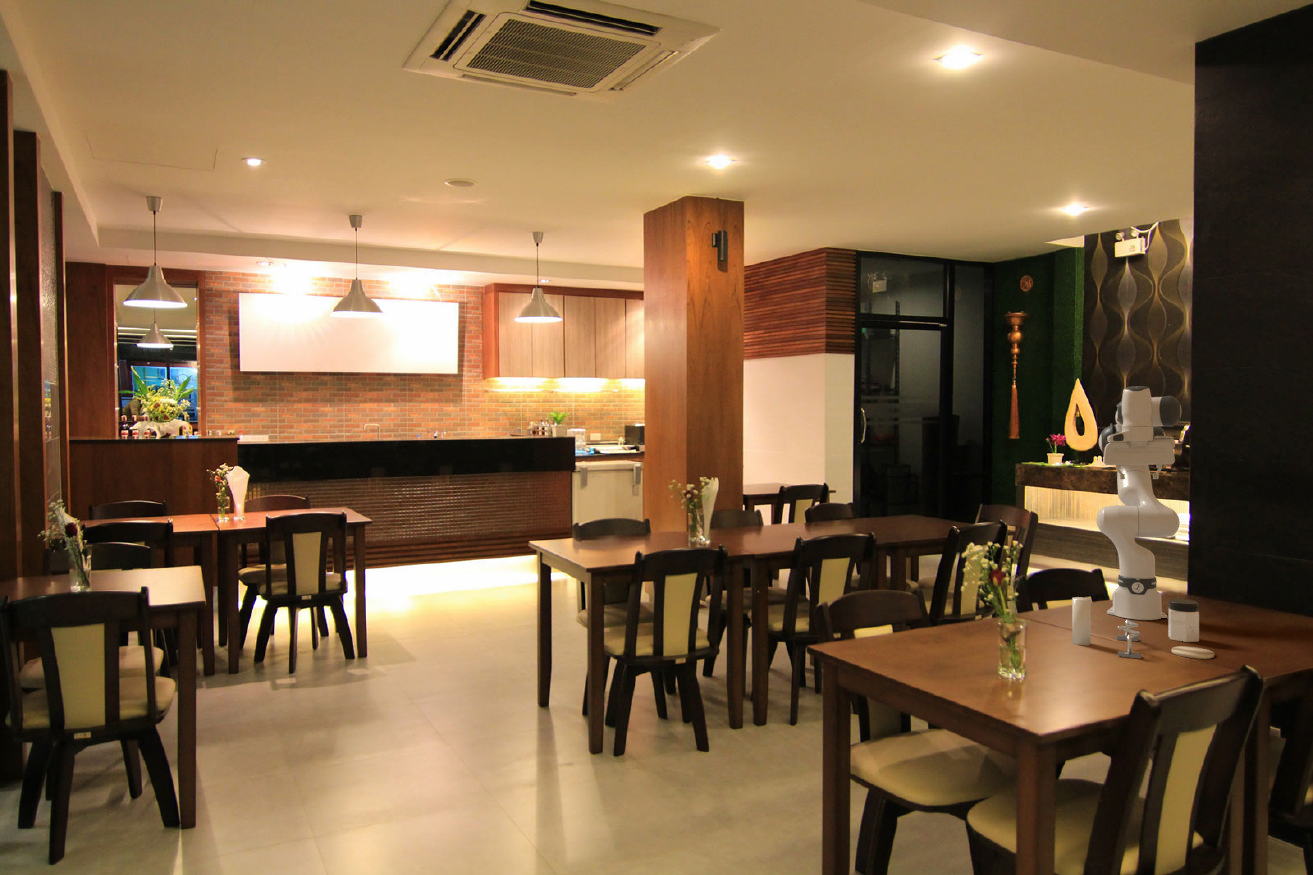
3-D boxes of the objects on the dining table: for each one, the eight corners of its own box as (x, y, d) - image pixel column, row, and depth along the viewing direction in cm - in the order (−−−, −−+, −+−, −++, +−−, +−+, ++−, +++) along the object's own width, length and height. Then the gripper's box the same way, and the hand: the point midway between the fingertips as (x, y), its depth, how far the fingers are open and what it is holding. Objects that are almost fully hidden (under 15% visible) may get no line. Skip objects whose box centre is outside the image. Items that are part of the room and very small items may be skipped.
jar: (1179, 642, 282) (1179, 604, 281) (1161, 636, 290) (1161, 599, 289) (1205, 641, 283) (1206, 603, 282) (1187, 635, 291) (1187, 598, 291)
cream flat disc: (1170, 647, 276) (1170, 644, 276) (1212, 651, 271) (1212, 648, 271) (1172, 656, 266) (1172, 653, 266) (1216, 660, 261) (1216, 657, 261)
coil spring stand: (1116, 637, 289) (1116, 617, 289) (1137, 639, 286) (1137, 619, 286) (1118, 656, 266) (1118, 635, 266) (1141, 659, 264) (1141, 637, 264)
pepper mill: (1072, 640, 285) (1072, 596, 285) (1090, 642, 283) (1090, 598, 283) (1072, 644, 281) (1072, 599, 280) (1090, 646, 278) (1090, 601, 278)
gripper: (1173, 435, 290) (1174, 478, 289) (1102, 437, 297) (1103, 479, 297) (1176, 435, 284) (1177, 479, 283) (1103, 436, 291) (1105, 479, 291)
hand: (1139, 479), depth 290 cm, fingers open, 8 cm apart
